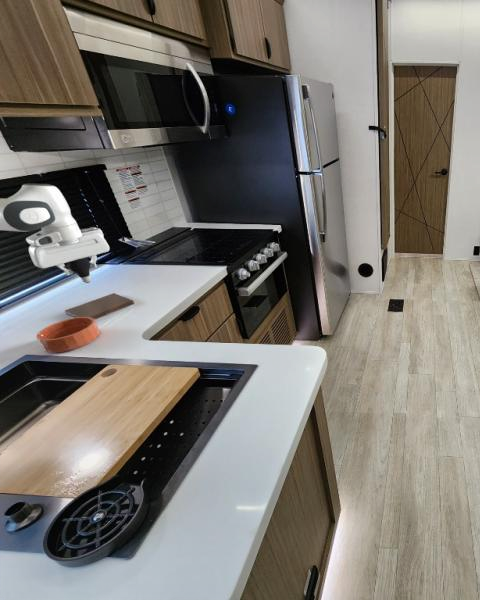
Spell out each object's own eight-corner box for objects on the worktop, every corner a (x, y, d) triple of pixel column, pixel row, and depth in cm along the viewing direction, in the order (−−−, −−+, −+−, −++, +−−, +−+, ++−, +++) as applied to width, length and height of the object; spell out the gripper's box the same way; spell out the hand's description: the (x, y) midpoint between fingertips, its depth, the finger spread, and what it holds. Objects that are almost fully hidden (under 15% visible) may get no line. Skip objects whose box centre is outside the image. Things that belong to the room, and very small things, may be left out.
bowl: (56, 358, 98) (48, 344, 96) (37, 346, 104) (28, 333, 102) (109, 335, 109) (102, 322, 107) (88, 325, 115) (82, 313, 112)
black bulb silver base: (94, 278, 124) (82, 253, 119) (101, 281, 121) (89, 255, 116) (74, 284, 119) (61, 257, 114) (81, 287, 116) (67, 261, 112)
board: (84, 323, 116) (82, 319, 115) (66, 314, 122) (64, 310, 121) (134, 303, 128) (132, 300, 128) (115, 296, 134) (113, 293, 134)
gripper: (94, 224, 121) (110, 260, 127) (18, 240, 105) (41, 279, 111) (103, 226, 118) (119, 262, 125) (27, 243, 102) (49, 283, 109)
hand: (82, 271), depth 118 cm, fingers closed on black bulb silver base, 6 cm apart
